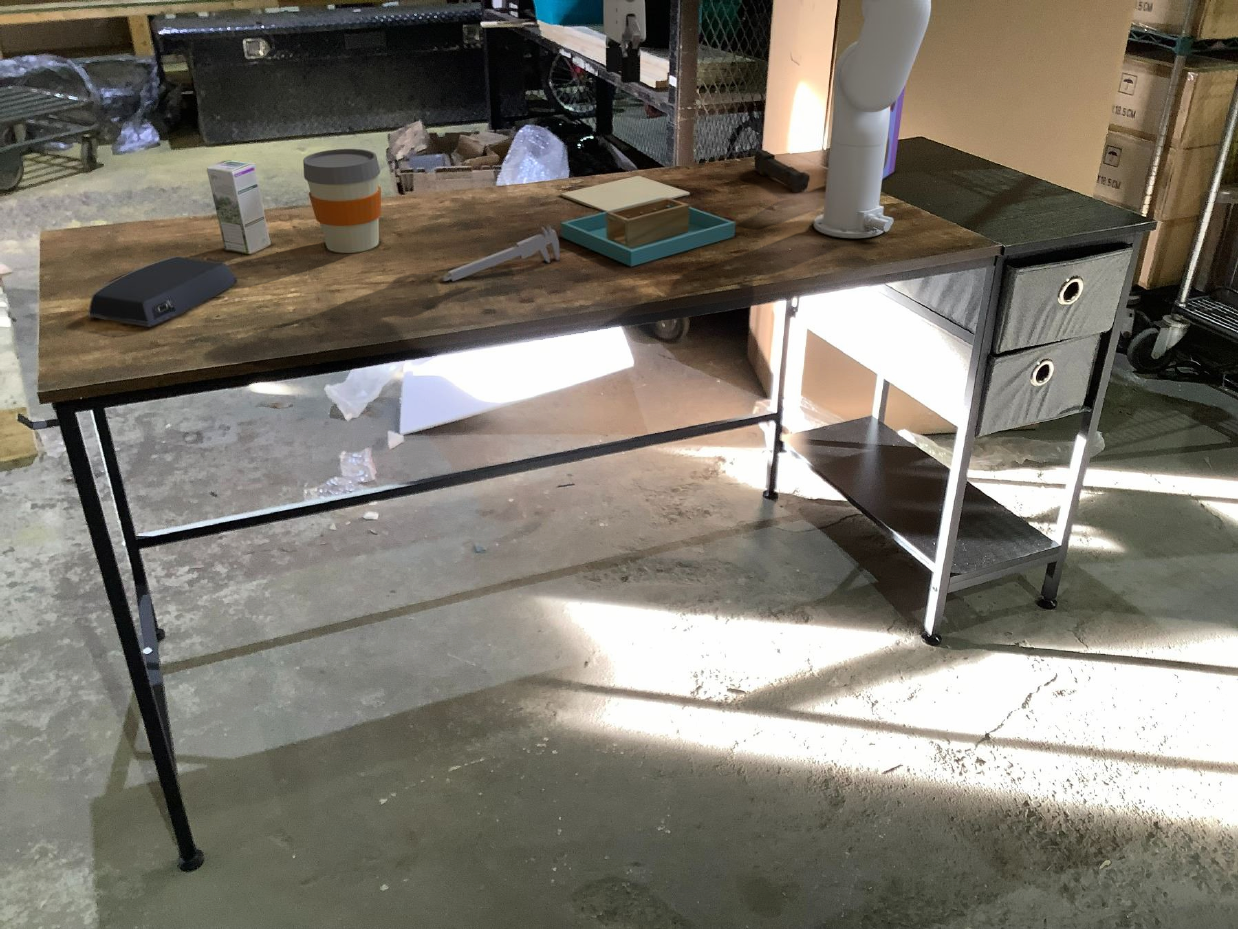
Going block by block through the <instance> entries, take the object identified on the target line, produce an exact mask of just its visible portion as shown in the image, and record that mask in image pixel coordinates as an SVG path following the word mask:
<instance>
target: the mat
mask: <svg viewBox="0 0 1238 929" xmlns="http://www.w3.org/2000/svg"><path fill="white" fill-rule="evenodd" d="M690 194H691V193H690V192H689V191H686V190H684V189H681V188H677V187H674V186H672V185H669V184H665V183H662V182H659V181H656V180H653V179H650V178H647V177H644V176H640V175H636V176H631V177H628V178H627V177H626V178H623V179H618V180H613V181H609V182H605V183H601V184H596V185H592V186H587V187H584V188H579V189H576V190H570V191H566V192H561V193H560V196H561V197H563V198H565V199H568V200H570V201H573V202H576V203H578V204H582V205H584V206H587V207H589V208H594V209H595V210H598V211H602V212H607V211H611V210H615V209H619V208H623V207H627V206H631V205H635V204H639V203H643V202H647V201H651V200H655V199H659V198H666V197H668V198H671V199H673V200H674V199H677V198H680V197H684V196H690Z"/></svg>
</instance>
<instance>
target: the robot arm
mask: <svg viewBox="0 0 1238 929" xmlns="http://www.w3.org/2000/svg"><path fill="white" fill-rule="evenodd" d="M602 6H603V9H602V10H603V12H602V13H603V16H602V17H603V29H604V34H605V36H606V37H605V72H607V73H620V82H621V83H622V84H631V83H632V84H633V83H640V81H641V55H642V53H641V47H642V44H641V43H643V42H645V41H646V38H647V33H646V32H647V30H646V29H647V28H646V25H647V24H646V2H645V0H603V5H602ZM931 11H932V0H862V1H861V13H862V17H863V19H864V22H863V25H862V28H861V31H860V34H859V37H858V39H857V41H854V42H853V43H851V44H849V45H848V46H847V47H846V48H845V49H844V50H843V52H841V54H840V55H839V58H838V60H837V63H836V66H835V72H834V81H833V82H834V83H833V109H832V121H831V122H832V123H831V133H830V140H829V141H830V143H829V150H828V151H829V153H828V162H827V163H828V164H827V173H826V182H825V183H826V184H825V194H824V204H823V213H822V214H819V215H817V216H816V217H815V218H814V220H813V227H814V229H815V230H816V231H818V232H819V233H820V234H824V235H825V236H830V237H834V238H840V239H841V238H842V239H867V238H873V237H877V236H879V235H881V234H883V233H887V232H888V231H890V229H891V227H892V225H893V224H894V221H895V220H894V217H890V216H887V215H884V209H885V206H884V205H880V200H881V191H882V184H883V180H882V176H883V168H884V160H885V152H886V144H887V138H888V130H889V120H890V105H892V104H893V103H894V102H895V101H896V100H897V98H898V97H899V96H900V94H901V92H902V90H903V88H904V86H905V87H906V84H907V81H908V79H909V76H910V73H911V72H912V68H913V66H914V63H915V60H916V58H917V55H918V53H919V50H920V48H921V45H922V42H923V39H924V37H925V34H926V31H927V28H928V26H929V23H930V18H931Z"/></svg>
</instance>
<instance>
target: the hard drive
mask: <svg viewBox="0 0 1238 929" xmlns="http://www.w3.org/2000/svg"><path fill="white" fill-rule="evenodd" d="M238 281H239V280H238V279H237V277H236V275H235V274H234V273H233V271H232V270H231V268H230V267H229V266H228V265H227V264H226V263H223V262H215V261H208V260H201V259H196V258H195V259H194V258H189V257H183V256H177V255H176V256H171V257H167V258H165V259H162V260H159V261H156V262H153V263H149V264H148V265H145V266H142V267H140V268H138V269H135V270H133V271H131V272H128V273H126V274H124V275H122V276H121V277H119V278H117V279H114V280H113V281H111V282H109V283H108V284H106V285H104V286H103V287H101V288H99V289H98V290H97V291H95V292H94V293H93V294H92V296H91V298H90V302H89V308H88V317H90V318H95V319H100V320H106V321H112V322H117V323H124V324H129V325H135V326H140V327H146V328H151V327H154V326H157V325H159V324H162V323H163V322H166V321H168V320H171V319H172V318H176V317H177V316H180V315H181V314H183V313H185V312H187V311H190V310H192V309H193V308H196V307H198V306H199V305H201V304H203V303H205V302H207V301H208V300H210V299H212V298H214V297H215V296H218V295H220V294H221V293H223V292H225V291H226V290H228V289H229V288H231V287H232V286H235V285H236V284H237V283H238Z"/></svg>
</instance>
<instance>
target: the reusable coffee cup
mask: <svg viewBox="0 0 1238 929" xmlns="http://www.w3.org/2000/svg"><path fill="white" fill-rule="evenodd" d="M302 165H303V178H304V180H305V181H307V184H308V188H309V193H308V196H309V200H310V203H311V204H310V205H311V208H312V209H313V214H314V218H315V220H316V221H317V222H318V223H319V226H320V229H321V233H322V236H323V239H324V242H325V246H326V249H328V250H329V251H331V252H335V253H342V254H352V253H360V252H365V251H368V250H372V249H374V248H375V247H377V246H378V245H379V243H380V242H379V241H380V240H379V239H380V237H379V233H380V232H379V230H380V229H379V228H380V227H379V225H380V224H379V221H380V220H379V219H380V217H381V215H382V189H381V186H379V176H380V174H381V170H380V169H381V168H380V165H379V161H378V156H377V154H376V153H375V152H374V151H371V150H368V149H360V148H337V149H336V148H335V149H328V150H322V151H319V152H318V151H317V152H313V153H311V154H308V155H307V156H305V157H304V158H303V161H302Z"/></svg>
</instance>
